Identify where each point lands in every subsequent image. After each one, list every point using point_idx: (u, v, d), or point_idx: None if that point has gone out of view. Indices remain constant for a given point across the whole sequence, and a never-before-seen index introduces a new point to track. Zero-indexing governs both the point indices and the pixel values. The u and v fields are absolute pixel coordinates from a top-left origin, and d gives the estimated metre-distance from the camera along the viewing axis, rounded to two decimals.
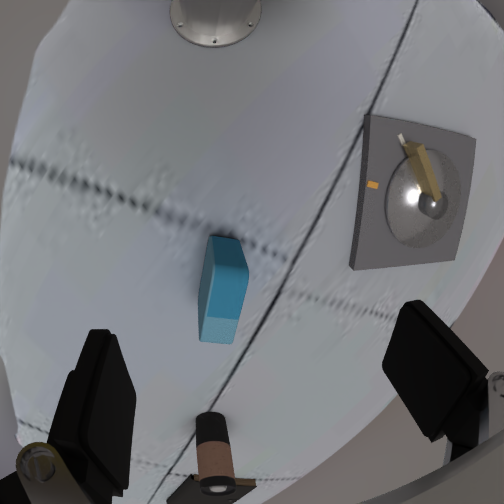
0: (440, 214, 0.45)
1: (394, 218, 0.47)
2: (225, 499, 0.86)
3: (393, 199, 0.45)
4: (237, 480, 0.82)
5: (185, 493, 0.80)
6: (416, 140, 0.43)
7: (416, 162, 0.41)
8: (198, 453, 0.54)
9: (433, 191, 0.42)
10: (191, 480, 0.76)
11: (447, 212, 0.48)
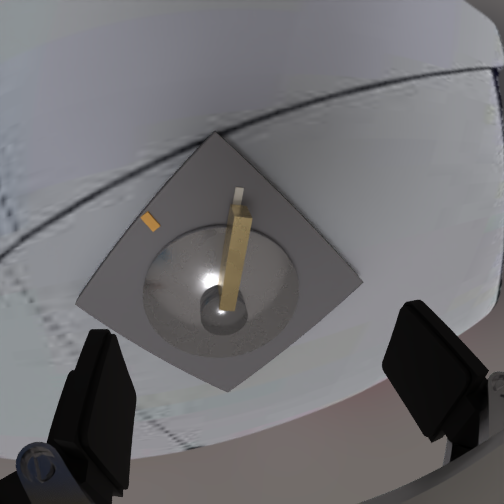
0: (221, 330, 0.33)
1: (153, 286, 0.32)
2: None
3: (165, 261, 0.31)
4: None
5: None
6: (262, 215, 0.32)
7: (227, 238, 0.29)
8: None
9: (224, 294, 0.30)
10: None
11: (245, 336, 0.37)
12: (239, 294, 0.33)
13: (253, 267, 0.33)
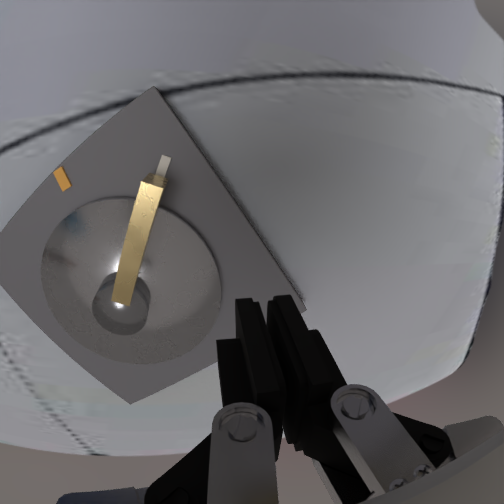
0: (114, 327, 0.24)
1: (52, 256, 0.24)
2: None
3: (68, 229, 0.23)
4: None
5: None
6: (189, 197, 0.25)
7: None
8: None
9: (118, 281, 0.22)
10: None
11: (149, 343, 0.29)
12: (143, 288, 0.25)
13: (166, 259, 0.26)
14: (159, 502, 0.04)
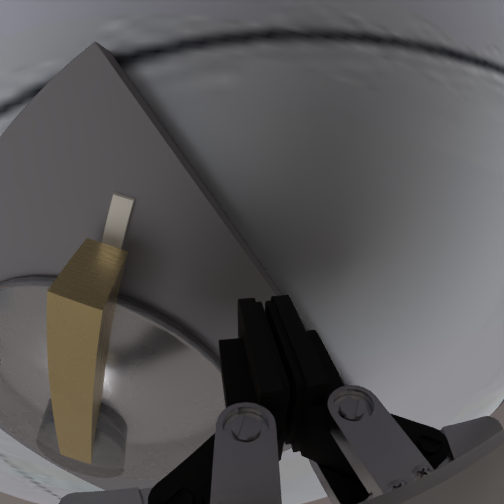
0: (78, 469, 0.12)
1: None
2: None
3: None
4: None
5: None
6: (177, 279, 0.12)
7: None
8: None
9: (62, 439, 0.09)
10: None
11: (135, 464, 0.16)
12: (112, 425, 0.13)
13: (143, 385, 0.13)
14: (163, 503, 0.04)
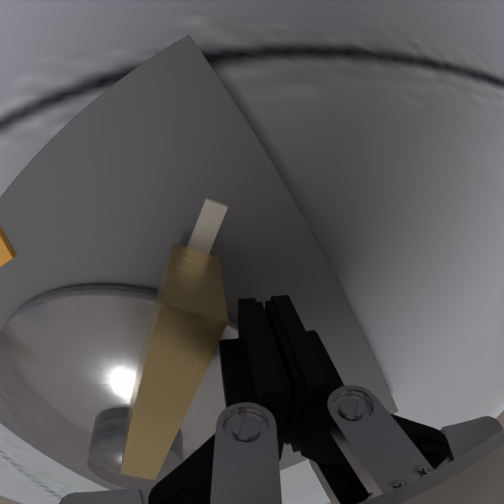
0: (130, 485, 0.12)
1: (7, 373, 0.11)
2: None
3: (19, 340, 0.10)
4: None
5: None
6: (260, 287, 0.12)
7: (145, 344, 0.09)
8: None
9: (130, 458, 0.09)
10: None
11: None
12: None
13: (211, 394, 0.13)
14: (163, 503, 0.04)
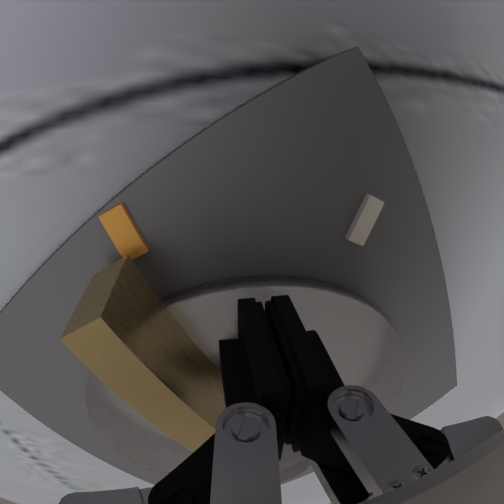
0: None
1: (128, 449, 0.14)
2: None
3: (106, 420, 0.13)
4: None
5: None
6: (392, 272, 0.13)
7: None
8: None
9: None
10: None
11: None
12: None
13: None
14: (163, 503, 0.04)
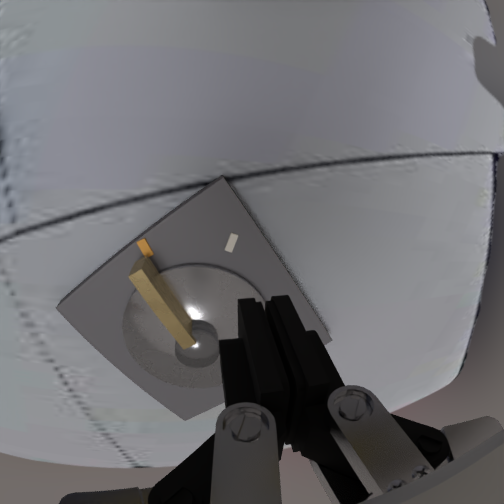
0: (204, 362, 0.33)
1: (138, 352, 0.35)
2: None
3: (130, 330, 0.33)
4: None
5: None
6: (250, 263, 0.34)
7: None
8: None
9: (175, 335, 0.30)
10: None
11: None
12: (199, 324, 0.33)
13: (195, 296, 0.33)
14: (163, 503, 0.04)
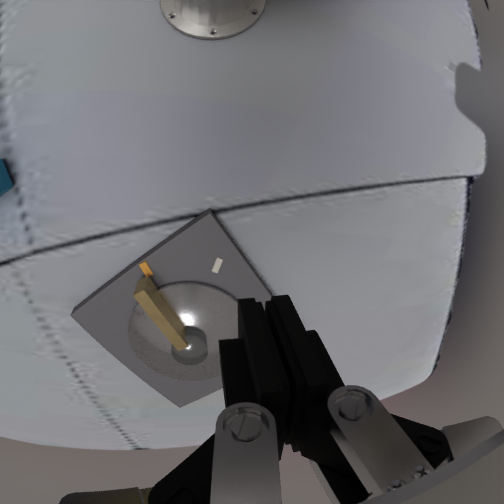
0: (195, 360, 0.40)
1: (140, 351, 0.42)
2: None
3: (134, 334, 0.40)
4: None
5: None
6: (233, 281, 0.41)
7: None
8: None
9: (171, 340, 0.37)
10: None
11: None
12: (191, 330, 0.40)
13: (188, 307, 0.40)
14: (163, 503, 0.04)
